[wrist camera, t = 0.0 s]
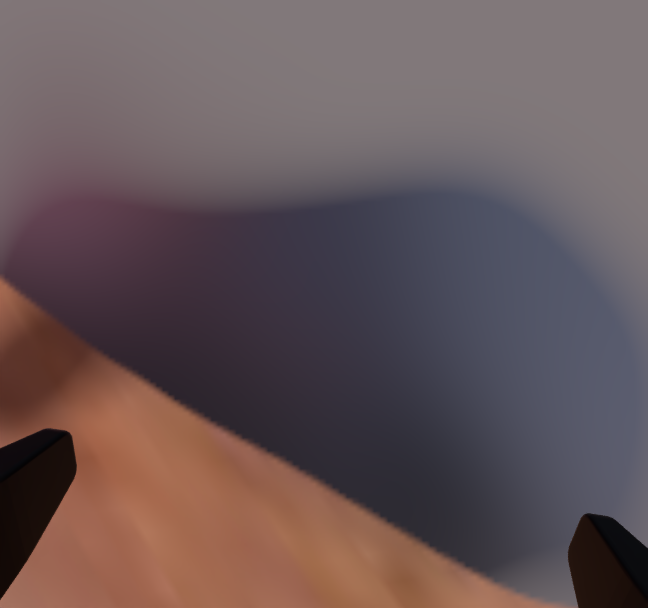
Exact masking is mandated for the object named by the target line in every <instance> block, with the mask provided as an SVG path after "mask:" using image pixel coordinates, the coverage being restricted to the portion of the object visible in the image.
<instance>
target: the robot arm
mask: <svg viewBox="0 0 648 608" xmlns="http://www.w3.org/2000/svg"><path fill="white" fill-rule="evenodd" d="M76 469H77V464H76V458H75V451H74V445H73V439H72V436H71V434H70V433H69V432H67V431H64V430H58V429H51V428H47V429H43V430H41V431H38V432H36V433H34V434H32V435H29V436H27V437H25V438H23V439H20V440H18V441H16V442H13V443H11V444H9V445H7V446H4V447H2V448H0V600H1V598H2V597H3V595H4V594H5V592H6V591H7V589H8V588H9V587H10V585H11V584H12V582H13V581H14V579H15V578H16V577H17V575H18V574H19V572H20V571H21V569H22V568H23V566H24V565H25V563H26V562H27V560H28V558H29V557H30V555H31V553H32V552H33V550H34V548H35V547H36V545H37V543H38V542H39V540H40V538H41V536H42V534H43V533H44V531H45V529H46V527H47V526H48V524H49V522H50V520H51V519H52V517H53V515H54V513H55V512H56V510H57V508H58V506H59V505H60V503H61V501H62V499H63V498H64V496H65V494H66V492H67V491H68V489H69V487H70V485H71V483H72V482H73V480H74V477H75V475H76ZM568 562H569V567H570V572H571V576H572V581H573V585H574V590H575V594H576V599H577V603H578V608H648V548H647V547H646V546H644V545H643V544H642V543H641V542H640V541H639V540H637V539H636V538H635V537H634V536H633V535H632V534H631V533H630V532H629V531H627V530H626V529H625V528H624V527H623V526H622V525H621V524H619V523H618V522H617V521H616V520H615V519H613V518H611V517H608V516H603V515H597V514H591V513H587V514H584V515H583V516H582V517H581V519H580V521H579V524H578V526H577V528H576V531H575V534H574V536H573V538H572V541H571V543H570V546H569V550H568Z"/></svg>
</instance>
